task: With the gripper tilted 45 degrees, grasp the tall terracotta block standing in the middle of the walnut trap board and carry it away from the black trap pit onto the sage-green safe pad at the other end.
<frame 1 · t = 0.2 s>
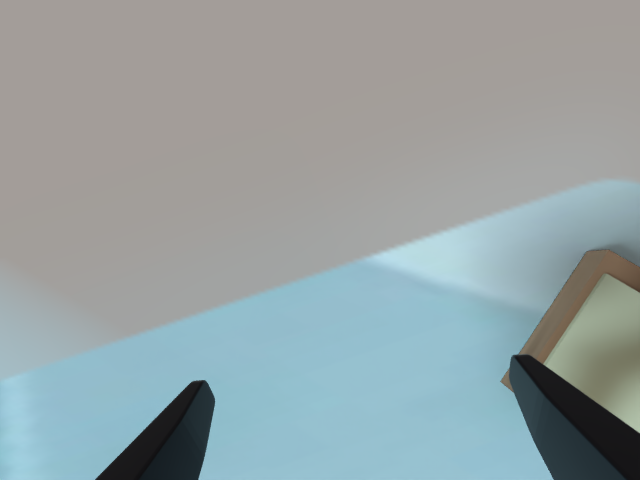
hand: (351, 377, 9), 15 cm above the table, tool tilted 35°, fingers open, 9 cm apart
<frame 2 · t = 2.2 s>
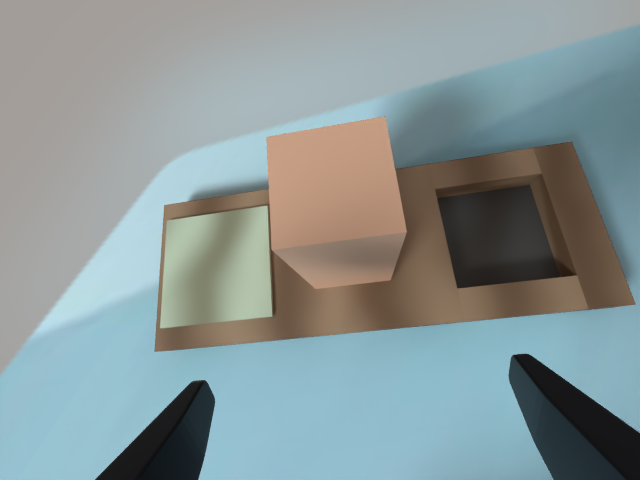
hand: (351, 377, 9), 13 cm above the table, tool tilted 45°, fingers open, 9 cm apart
trap board: (349, 255, 24), on the table
block: (348, 248, 22), point 2 cm above the table, touching trap board
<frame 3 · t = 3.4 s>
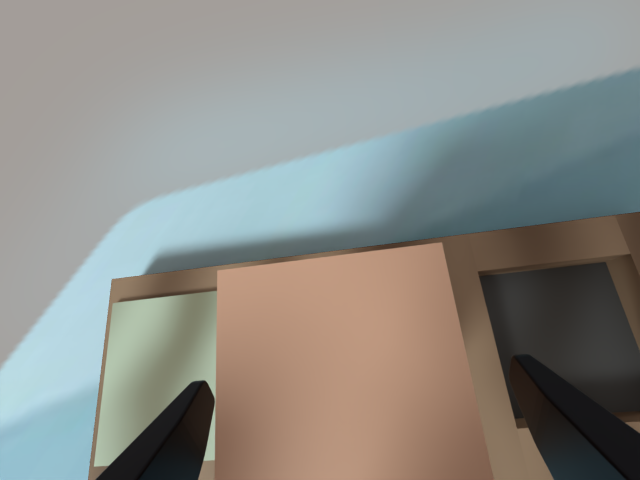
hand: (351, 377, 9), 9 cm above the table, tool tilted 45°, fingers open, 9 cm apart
trap board: (358, 354, 18), on the table
block: (357, 356, 16), point 2 cm above the table, touching trap board
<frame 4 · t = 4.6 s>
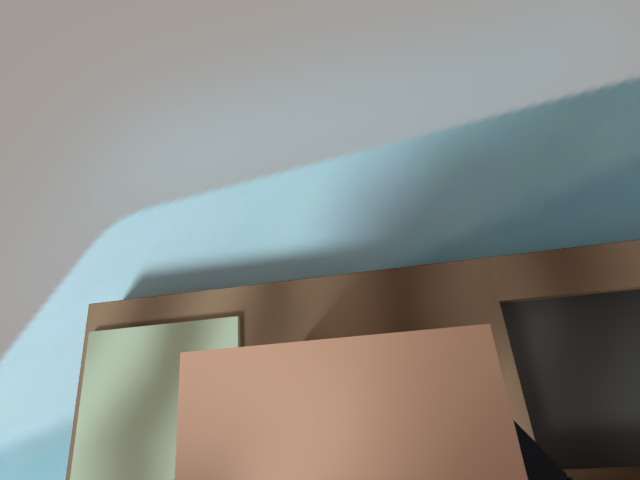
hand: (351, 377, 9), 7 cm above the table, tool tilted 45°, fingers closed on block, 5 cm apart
trap board: (363, 390, 16), on the table
block: (362, 398, 14), point 2 cm above the table, touching gripper, trap board
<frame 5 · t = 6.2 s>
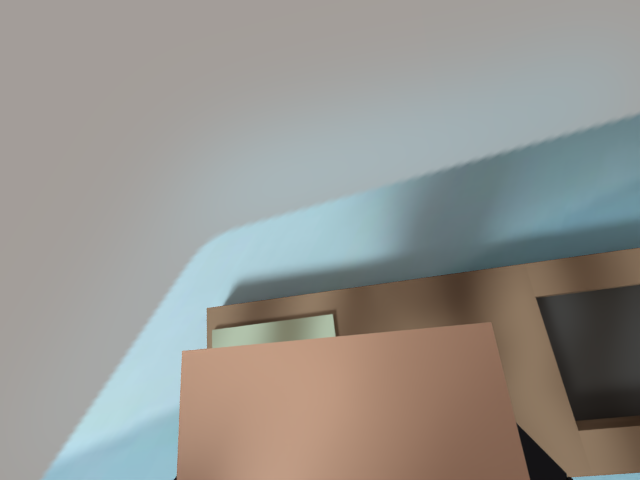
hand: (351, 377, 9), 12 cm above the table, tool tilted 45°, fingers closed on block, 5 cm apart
trap board: (429, 369, 20), on the table
block: (362, 397, 14), point 7 cm above the table, touching gripper
when the fingers open (8 cm above the table, at t = 7.9 s): block stays where it is, resting on trap board.
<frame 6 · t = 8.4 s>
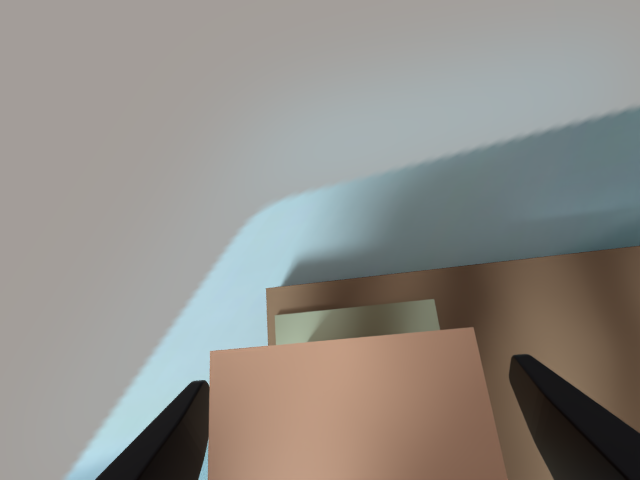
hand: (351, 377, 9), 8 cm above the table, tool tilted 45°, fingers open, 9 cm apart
trap board: (555, 373, 16), on the table
block: (363, 394, 15), point 2 cm above the table, touching trap board
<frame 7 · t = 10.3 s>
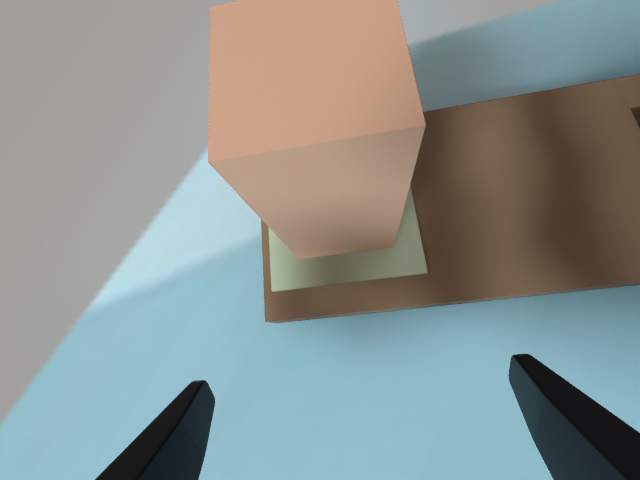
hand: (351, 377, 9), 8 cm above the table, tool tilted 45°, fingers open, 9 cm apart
trap board: (504, 201, 18), on the table
block: (339, 209, 17), point 2 cm above the table, touching trap board
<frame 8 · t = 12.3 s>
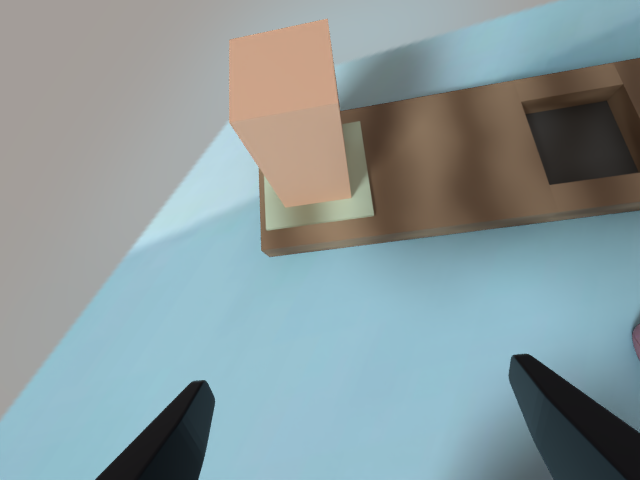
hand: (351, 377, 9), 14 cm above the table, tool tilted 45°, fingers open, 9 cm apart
trap board: (435, 169, 25), on the table
block: (315, 173, 24), point 2 cm above the table, touching trap board
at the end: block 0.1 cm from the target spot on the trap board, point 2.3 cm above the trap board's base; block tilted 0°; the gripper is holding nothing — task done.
